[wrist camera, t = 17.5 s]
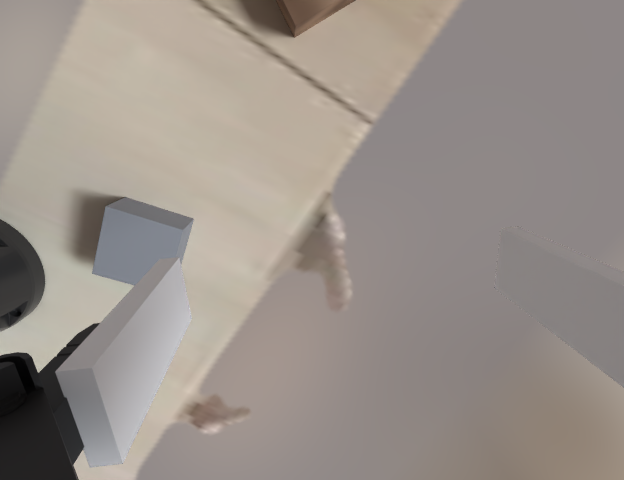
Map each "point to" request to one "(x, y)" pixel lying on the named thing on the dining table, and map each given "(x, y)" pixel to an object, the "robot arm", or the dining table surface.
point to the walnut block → (308, 12)
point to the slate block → (138, 239)
